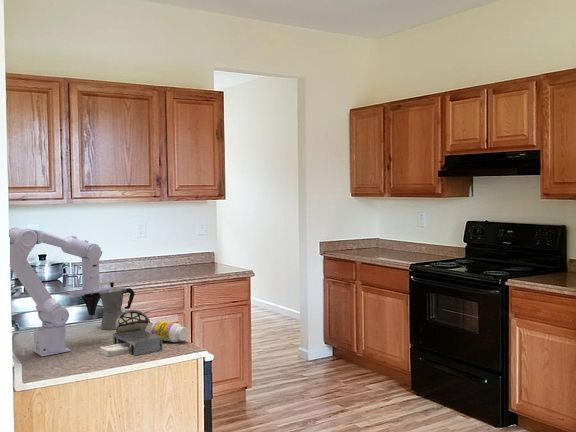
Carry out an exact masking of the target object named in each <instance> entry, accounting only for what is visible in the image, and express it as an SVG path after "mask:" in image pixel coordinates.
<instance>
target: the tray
mask: <svg viewBox="0 0 576 432" xmlns="http://www.w3.org/2000/svg"><path fill="white" fill-rule="evenodd" d="M101 353H102V354H101ZM128 353H130V343H128V342H125V343H120V344H115V345H113V344H111V345H106V346H99V354H101V355H103V354H104V356H105V355H106V356H105V357H107V356H108V357H107V358H110V356H111V357H115V356H114V355H116V356H120V355H119V354H121V355H124V354H128Z"/></svg>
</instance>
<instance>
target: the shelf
mask: <svg viewBox="0 0 576 432" xmlns="http://www.w3.org/2000/svg"><path fill="white" fill-rule="evenodd" d="M112 338H113V342H112V343H113V344H112V345H115V344H120V343H125V342H128V343H130V355H133V356H134V357H136V356H140V355H141V356H142V355H144V354H145V355H146V354H150V353H153V352H159V351H163V340H162V337H160V336H158V335H155V334H152V333H151V331H147V330H145V331H144V330H142V329H135V330H129V331H124V332H118V333H116V332H113V334H112Z"/></svg>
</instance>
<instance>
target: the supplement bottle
mask: <svg viewBox="0 0 576 432" xmlns="http://www.w3.org/2000/svg"><path fill="white" fill-rule="evenodd" d="M150 333H152V334H155V335H158V336H160V337H162V342H163V341H164V342H169V343H177V342H179V341H181V342H183V341H185V340H187V339H188V335H189V330H188V328H186V327H184V326H182V325H181V324H180V323H177V322H169V321H163V320H157V321H154V322H153V323H152V325H151V328H150Z"/></svg>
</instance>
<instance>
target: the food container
mask: <svg viewBox="0 0 576 432" xmlns="http://www.w3.org/2000/svg"><path fill="white" fill-rule="evenodd" d="M150 323H151V320H150V318H149V316H148V315H147V314H146V313H144V312H143V311H141V310H138V309H130V310H129V309H127V310H126V311H122V314H121V315H120V316H119V317H118V319H117V320H116V324H115V325H116V328H117V330H115V331H116V332H115V333H118V332H124V331H129V330H135V329H142V330H144V331H146V329H147V327H148V326H149V324H150Z"/></svg>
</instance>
